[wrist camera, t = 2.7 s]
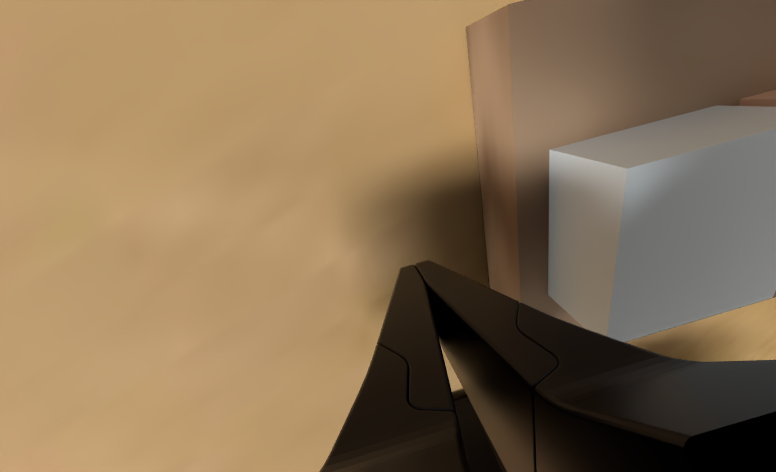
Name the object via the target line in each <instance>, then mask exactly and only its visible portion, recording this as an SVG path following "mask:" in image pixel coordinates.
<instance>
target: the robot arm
mask: <svg viewBox="0 0 776 472" xmlns="http://www.w3.org/2000/svg"><path fill="white" fill-rule="evenodd" d="M440 344H441V345H440ZM441 346H442V348H443V350H444V352H445V354H446V356H447V358H448V360H449V362H450V363H451V365H452V367H453V369H454V371H455V373H456V375H457V377H458V379H459V381H460V383H461V385H462V386H463V388H464V390H465V392H466V394H467V396H468V397H465V398H462V399H458V400H455V401H454V400H453V396H452V392H451V387H450V383H449V379H448V375H447V371H446V366H445V362H444V358H443V354H442V350H441ZM319 472H776V360H756V361H723V362H698V361H687V360H681V359H675V358H671V357H666V356H662V355H659V354H656V353H653V352H650V351H647V350H644V349H641V348H638V347H636V346H633V345H630V344H627V343H624V342H622V341H619V340H616V339H613V338H610V337H608V336H605V335H602V334H599V333H596V332H594V331H591V330H588V329H585V328H582V327H580V326H577V325H574V324H572V323H569V322H566V321H564V320H561V319H558V318H556V317H553V316H551V315H549V314H546V313H544V312H542V311H539V310H537V309H535V308H532V307H530V306H528V305H526V304H524V303H519V301H517V300H515V299H512V298H510V297H508V296H506V295H504V294H502V293H499V292H497V291H495V290H493V289H491V288H488V287H486V286H484V285H482V284H480V283H477V282H475V281H473V280H471V279H469V278H466V277H464V276H462V275H460V274H458V273H455V272H453V271H451V270H449V269H447V268H445V267H442V266H440V265H438V264H436V263H434V262H431V261H429V260H427V261H423V262H420V263H417V264H416V265H415V266H414V265H409V266H406V267H402V268H401V269H400V271H399V274H398V277H397V281H396V284H395V287H394V290H393V294H392V297H391V300H390V303H389V306H388V310H387V313H386V316H385V319H384V323H383V326H382V329H381V332H380V336H379V339H378V342H377V346H376V348H375V351H374V355H373V358H372V361H371V363H370V366H369V369H368V372H367V375H366V377H365V379H364V382H363V384H362V386H361V389H360V391H359V393H358V395H357V397H356V400H355V402H354V404H353V406H352V408H351V410H350V412H349V414H348V417H347V419H346V421H345V423H344V425H343V427H342V429H341V431H340V434H339V436H338V438H337V440H336V442H335V444H334V446H333V448H332V451H331V453H330V455H329V457H328V458H327V460H326V462H325V464H324V465H323V467H322V469H321V470H320V471H319Z"/></svg>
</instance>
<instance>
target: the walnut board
mask: <svg viewBox="0 0 776 472" xmlns="http://www.w3.org/2000/svg"><path fill="white" fill-rule="evenodd" d="M466 33H467V43H468V54H469V65H470V76H471V87H472V98H473V109H474V120H475V131H476V141H477V152H478V163H479V174H480V185H481V196H482V207H483V218H484V229H485V240H486V250H487V261H488V272H489V283H490V288H491V289H493V290H495V291H497V292H499V293H502V294H504V295H506V296H508V297H510V298H512V299H515V300H517V301H519V303H524V304H526V305H528V306H530V307H532V308H535V309H537V310H539V311H542V312H544V313H546V314H549V315H551V316H553V317H556V318H558V319H561V320H564V321H566V322H569V323H572V324H574V325H577V326H580V327H582V326H581V325H580V324H579V323H578V322H577V321H576V320H575V319H574V318H573V317H572V316H571V315H569V314H568V313H567V312H566V311H565V310H564V309H563V308H562V307H561V306H560V305H559V304H558V303H557V302H555V301H554V300H553V299H552V298H551V297H550V296H549V295H548V252H549V150H550V149H553V148H557V147H561V146H565V145H569V144H572V143H576V142H580V141H584V140H588V139H591V138H595V137H599V136H603V135H606V134H610V133H614V132H618V131H622V130H625V129H629V128H633V127H637V126H640V125H644V124H648V123H652V122H656V121H659V120H663V119H667V118H671V117H675V116H678V115H682V114H686V113H690V112H693V111H697V110H701V109H705V108H709V107H712V106H716V105H719V106H739V103H740V100H741V99H743V98H746V97H750V96H754V95H758V94H762V93H765V92H769V91H773V90H776V0H525V1H521V2H516V3H512V4H508V5H507V6H505V7H503V8H501V9H499V10H497V11H495V12H493V13H492V14H490V15H488V16H486V17H484V18H482V19H480V20H478V21H476V22H475V23H473V24H471V25H469V26H467V27H466ZM774 297H776V291H775V293H774V296H773V298H774ZM770 299H771V298H770ZM760 302H761V301H760ZM750 305H751V304H750ZM740 308H741V307H740ZM730 311H731V310H730ZM720 314H721V313H720ZM710 317H711V316H710ZM700 320H701V319H700ZM582 328H583V327H582Z"/></svg>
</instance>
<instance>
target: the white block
mask: <svg viewBox="0 0 776 472" xmlns="http://www.w3.org/2000/svg"><path fill="white" fill-rule="evenodd" d="M775 291H776V107H762V106H719V105H716V106H712V107H709V108H705V109H701V110H697V111H693V112H690V113H686V114H682V115H678V116H675V117H671V118H667V119H663V120H659V121H656V122H652V123H648V124H644V125H640V126H637V127H633V128H629V129H625V130H622V131H618V132H614V133H610V134H606V135H603V136H599V137H595V138H591V139H588V140H584V141H580V142H576V143H572V144H569V145H565V146H561V147H557V148H553V149H550V150H549V252H548V295H549V296H550V297H551V298H552V299H553V300H554V301H555V302H557V303H558V304H559V305H560V306H561V307H562V308H563V309H564V310H565V311H566V312H567V313H568V314H569V315H571V316H572V317H573V318H574V319H575V320H576V321H577V322H578V323H579V324H580V325H581V326H582V327H583V328H585V329H588V330H591V331H594V332H596V333H599V334H602V335H605V336H608V337H610V338H613V339H616V340H619V341H622V342H627V341H631V340H634V339H637V338H641V337H644V336H647V335H651V334H654V333H657V332H661V331H664V330H667V329H671V328H674V327H677V326H681V325H684V324H687V323H691V322H694V321H697V320H700V319H704V318H707V317H710V316H714V315H717V314H720V313H724V312H727V311H730V310H734V309H737V308H740V307H744V306H747V305H750V304H754V303H757V302H760V301H764V300H767V299H770V298H773V296H774V293H775Z"/></svg>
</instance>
